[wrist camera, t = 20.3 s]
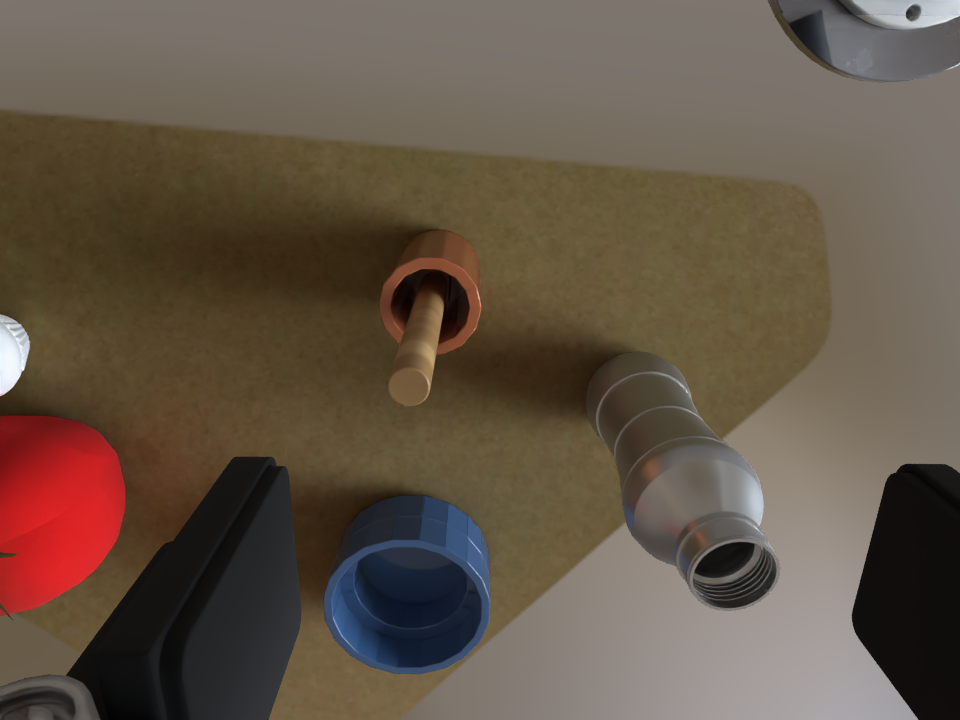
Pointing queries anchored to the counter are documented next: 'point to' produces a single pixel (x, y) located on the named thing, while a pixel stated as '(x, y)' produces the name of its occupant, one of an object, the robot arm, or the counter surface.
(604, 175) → the counter surface
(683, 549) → the silver metal bottle
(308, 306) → the counter surface
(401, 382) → the stirring stick
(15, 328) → the muffin
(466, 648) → the bowl
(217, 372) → the counter surface
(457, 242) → the crock
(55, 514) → the tomato
